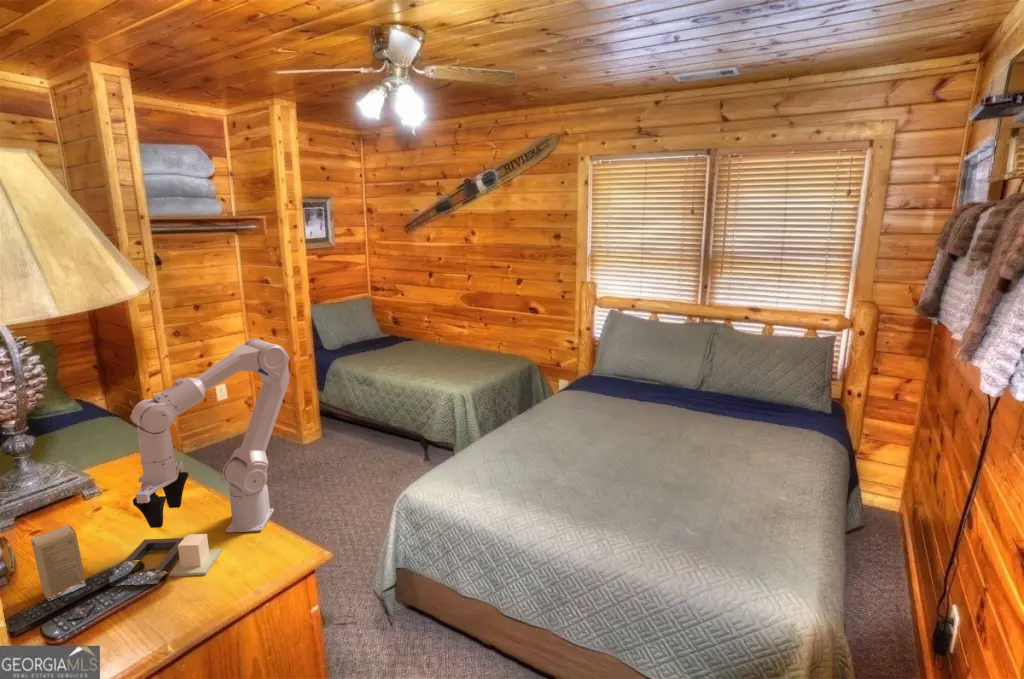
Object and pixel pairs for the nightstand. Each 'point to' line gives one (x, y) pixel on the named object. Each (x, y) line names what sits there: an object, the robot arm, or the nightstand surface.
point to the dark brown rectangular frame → (157, 545)
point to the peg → (193, 550)
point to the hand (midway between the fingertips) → (165, 516)
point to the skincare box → (58, 560)
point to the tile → (197, 570)
